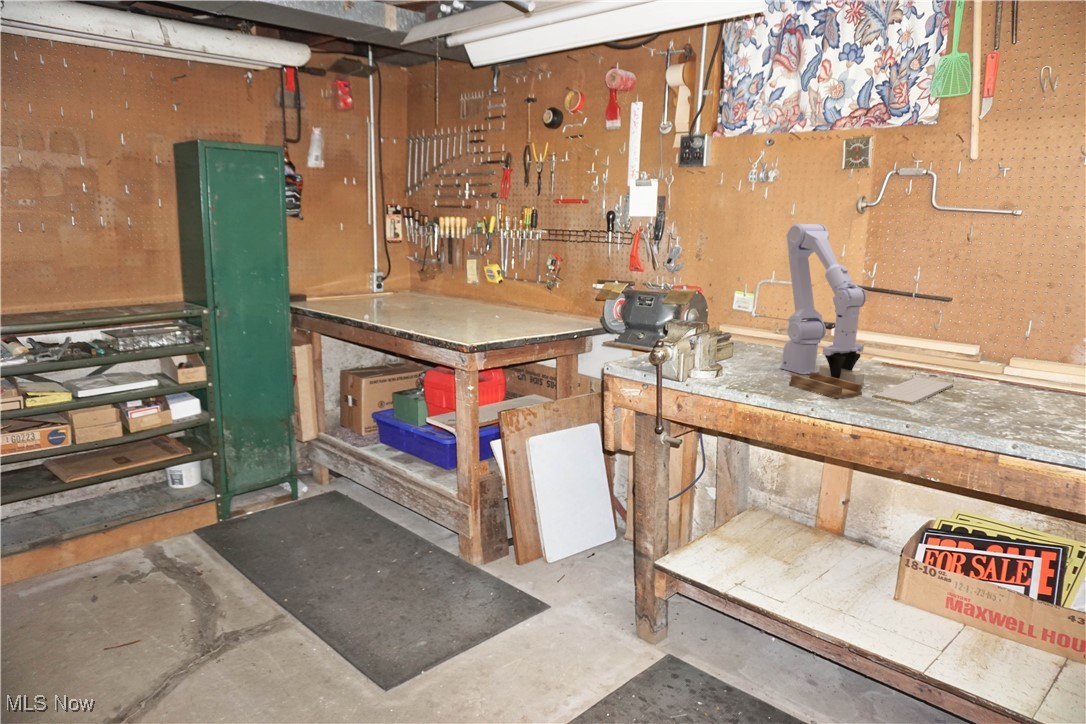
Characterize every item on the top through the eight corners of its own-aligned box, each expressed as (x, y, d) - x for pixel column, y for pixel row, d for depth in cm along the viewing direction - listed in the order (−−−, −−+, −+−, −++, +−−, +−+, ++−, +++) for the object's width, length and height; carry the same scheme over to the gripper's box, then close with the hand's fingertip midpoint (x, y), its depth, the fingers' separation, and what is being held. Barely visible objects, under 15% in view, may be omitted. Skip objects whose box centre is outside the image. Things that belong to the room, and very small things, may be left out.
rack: (788, 385, 191) (790, 374, 190) (812, 381, 195) (813, 371, 195) (837, 399, 177) (838, 388, 177) (861, 395, 182) (862, 384, 181)
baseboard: (863, 397, 182) (911, 407, 173) (864, 387, 181) (912, 396, 173) (908, 380, 202) (953, 388, 194) (909, 370, 202) (954, 378, 193)
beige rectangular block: (818, 379, 199) (819, 366, 198) (826, 378, 201) (828, 365, 200) (854, 389, 189) (855, 375, 188) (862, 387, 190) (864, 373, 190)
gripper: (840, 334, 185) (834, 383, 188) (875, 331, 192) (869, 378, 195) (818, 330, 191) (813, 378, 194) (853, 327, 198) (848, 373, 201)
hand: (840, 378), depth 195 cm, fingers closed on beige rectangular block, 4 cm apart
